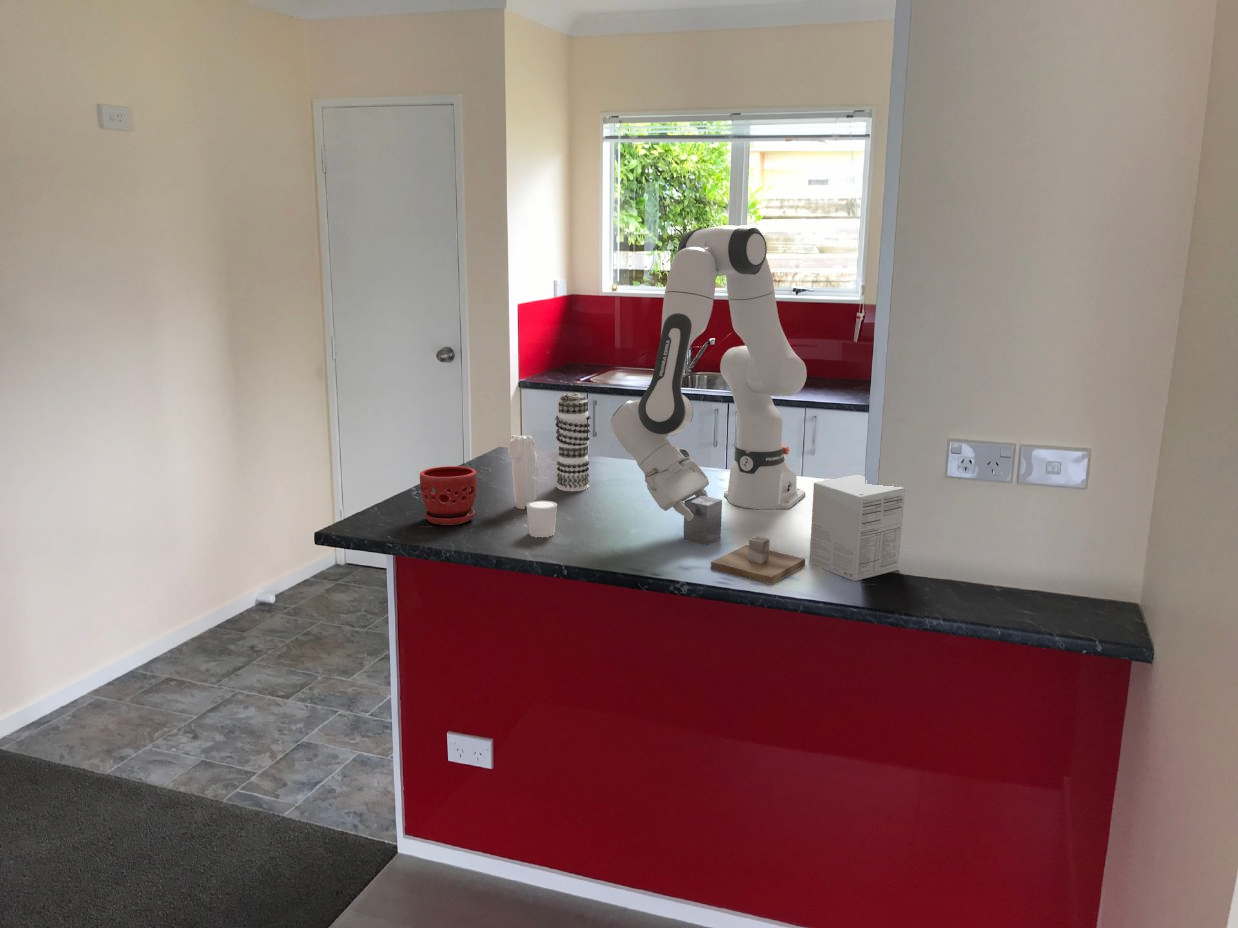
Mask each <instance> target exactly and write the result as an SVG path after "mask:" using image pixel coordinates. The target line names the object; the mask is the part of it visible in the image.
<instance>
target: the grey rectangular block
mask: <svg viewBox="0 0 1238 928" xmlns="http://www.w3.org/2000/svg"><path fill="white" fill-rule="evenodd" d="M683 502H684V503H685V504H684V505H685V506H686V507H687V508H688V509H689V510H691V509H692V511H693V512H694V513H695V514H696V516H695V517H694V518H693V519H692V520H690V521H687V519H686V518H685V517H684V516H683V538H682V539H683V541H688V542H691V543H695V544H700V545H702V546H703V545H704V546H707V545H709V544H711V543H714V542H717V541H719V540H721V538H722V518H723V517H722V514H723V512H722V511H723V510H722V509H723V499H721V498H715V497H711V496H708V497H706V496H701V495H699V496H694V497H693V496H692V497H690V498H688V499H686V500H685V501H683Z"/></svg>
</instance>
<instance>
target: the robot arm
mask: <svg viewBox="0 0 1238 928" xmlns="http://www.w3.org/2000/svg"><path fill="white" fill-rule="evenodd" d="M767 248H768V247H767V242H766V239H765V237H764V235H763V233H762V232H761V231H760V230H759V229H758V228H756V227H754V226H751V225H745V224H744V225H743V224H742V225H717V226H712V227H706V228H696V229H695V228H694V229H692V230H689V231H687V232H686V233H685V234H684V235H683V236H682V238H681V239H680V241H679V244H678V247H677V253H676V254H675V256H674V258H673V261H672V263H671V267H670V269H669V272H668V276H667V281H666V284H665V289H664V296H663V302H662V303H663V304H662V313H661V332H660V339H659V345H658V350H657V354H656V358H655V363H654V369H653V373H652V377H651V380H650V383H649V386H648V387H647V389H646V390H645V392H644V393H643V395H641V398H640V399H637V400H627V401H624V403H623V404H621V405H620V406H619V407H618V408H617V410H616V411H615V412H614V413H613V415H612V417H611V419H610V427H611V428H610V429H611V430H612V432H613V434H614V436H615V438H616V439H617V441H618V442H619V443H620V445H621V446H622V447H623V449H624V450H625V451H626V452H627V453H628V454H629V455H630V456H631V457H632V458H633V459H634V460H635V462H636V465H637V466H638V468H639V469H640V470H641V472H643V474H644V481H645V483H646V487H647V490H648V492H649V494H650V495H651V497H652V499H653V501H655V503H656V504H657V505H658V507H659V508H660V509H661V510H663V511H665V512H666V511H668V510H670V509H672V508H673V509H674V511H675V512H676V513H678V514H680V515H681V516H683V518H684V517H685V518H686V519H687V521H690V520H692V519H693V518H694V517H695V516H696V514H695V513H694V512H693V511H692V509H691V510H689V509H688V508H687V507H686V506H685V505H684V504H685V503H684V501H685V500H688V499H691V498H693V496H694V497H696V496H699V495H701V496H706V497H709V496H708V495H709V494H708V492H707V490H705V489H706V488H708V486H709V484H710V481H709V478H708V476H707V475H706V474H705V472H704V471H703V470H702V468H701V467H700V466H699V465H698V463H697V462H696V460H694V459H692V458H691V457H692V454H691V452H690V451H689V450H688V449H686V448H679V447H676V446H673V445H672V444H671V442H670V441H669V439H670V438H671V437H673V436H675V435H677V434H680V433H682V432H683V431H684V430H686V428H688V427H689V426H690V424H691V422H692V420H693V417H694V407H693V404H692V401H691V400H690V399H689V398H688V397H687V396H686V395H684V394H682V381H683V376H684V373H685V369H686V367H685V366H686V362H687V356H688V352H689V350H690V347H691V346H692V344H693V342H694V341H695V340H696V339H697V338H698V337H699V336H700V335H702V334H703V333H704V332H705V331H706V330H707V326H708V324H709V322H710V321H709V320H710V318H711V315H712V312H713V306H714V298H715V292H716V281H717V280H716V279H717V277H720V276H722V277H723V276H725V278H726V291H727V298H728V305H729V312H730V319H731V324H732V325H731V326H732V328H733V330H734V332H735V333H736V334H737V335H738V336H739V337H740V339H741V340H742V342H743V343H744V345H739V346H733V347H730V348H728V349H727V350H726V352H724V354H723V355H722V357H721V360H720V365H719V368H720V369H719V370H720V374H721V377H722V378H723V380H724V381H725V382H726V383H727V385H728V387H729V390H730V391H731V396H732V398H733V402H734V406H735V410H736V412H735V413H736V423H737V424H736V445H735V447H734V451H733V456H734V458H733V459H734V463H733V464H731V466H730V470H729V478H728V487H727V490H726V491H725V490H724V493H723V496H724V497H725V498H726V499H727V502H729V503H730V504H731V505H734V506H738V507H741V508H745V509H746V508H747V509H755V510H768V509H769V510H771V509H790V508H792V507H793V506H795V504H797V503H798V502H799V501H800V500H802V499H803V498H804V497H805V496H806V491H805V490H802V489H801V488H797V474H796V472H795V471H794V470H793V469H792V468H791V467H790V465H789V466H788V464H787V463H786V462H785V455H786V456H787V455H789V453H790V447H789V446H783V445H782V442H783V441H782V440H783V439H782V436H783V416H782V415H781V413H780V411H779V410H778V409H777V408H776V405H775V404H774V401H773V397H789V396H794V395H796V394H798V393H799V392H801V390H802V389H803V388H804V386H805V383H806V381H807V377H808V375H807V372H808V371H807V366H806V364H805V362H804V361H803V360H802V359H801V358H800V356H798V355H797V354H796V353H795V352H796V351H794V349H793V348H792V347H791V344H790V343H789V341H788V339H787V336H786V335H785V332H784V330H783V327H782V325H781V322H780V317H779V313H778V306H777V300H776V295H775V285H774V281H773V276H772V272H771V268H770V265H769V261H768V259H767V252H768V251H767V250H768V249H767Z"/></svg>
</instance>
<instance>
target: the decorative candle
mask: <svg viewBox="0 0 1238 928" xmlns="http://www.w3.org/2000/svg"><path fill="white" fill-rule="evenodd" d="M557 402H558V411H557V415H556V416H555V418H554V420H555V421H556V423H555V427H556V428H557V429H556V432H555V433H556V437H555V438H556V441H557V442H556V445H557V446H558V455H557V462H556V464H557V466H558V467H557V468H556V470H557V474H556V477H557V479H556V483H557V489H558V490H560V491H565V492H582V491H585V489H586V490H588V489H589V488H588V487H590V485H589V483H590V480H589V478H590V474H589V472H588V471H589V470H590V468H589V465H590V462H589V457H588V456H589V455H588V447H589V444H590V442H589V440H590V436H588V434H589V433H590V432H591V431H590V429H589V427H591V424H590V423H588V421H589V420H590V419H591V416H590V415H589V411H588V402H589V399H588V398H587V397H586V396H585V395H584V394H583V393H580V392H579V393H577V392H567V393H564V394H562V395H561V397H560V398H558V399H557ZM587 488H588V489H587Z"/></svg>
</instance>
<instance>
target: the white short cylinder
mask: <svg viewBox="0 0 1238 928" xmlns="http://www.w3.org/2000/svg"><path fill="white" fill-rule="evenodd" d="M526 506H527V507H526V513H527V521H528V531H529V536H531V537H533V536H534V537H533V538H537V537H542V538H543V537H546V538H550V537H549V536H551V537H553V536H555V534H554V533H555V532H556V521H557V513H558V512H557V511H558V504H557V502H554V501H551V500H535V501H533V502H530V503H528V504H527V505H526ZM552 535H553V536H552ZM542 538H541V539H542Z"/></svg>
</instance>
